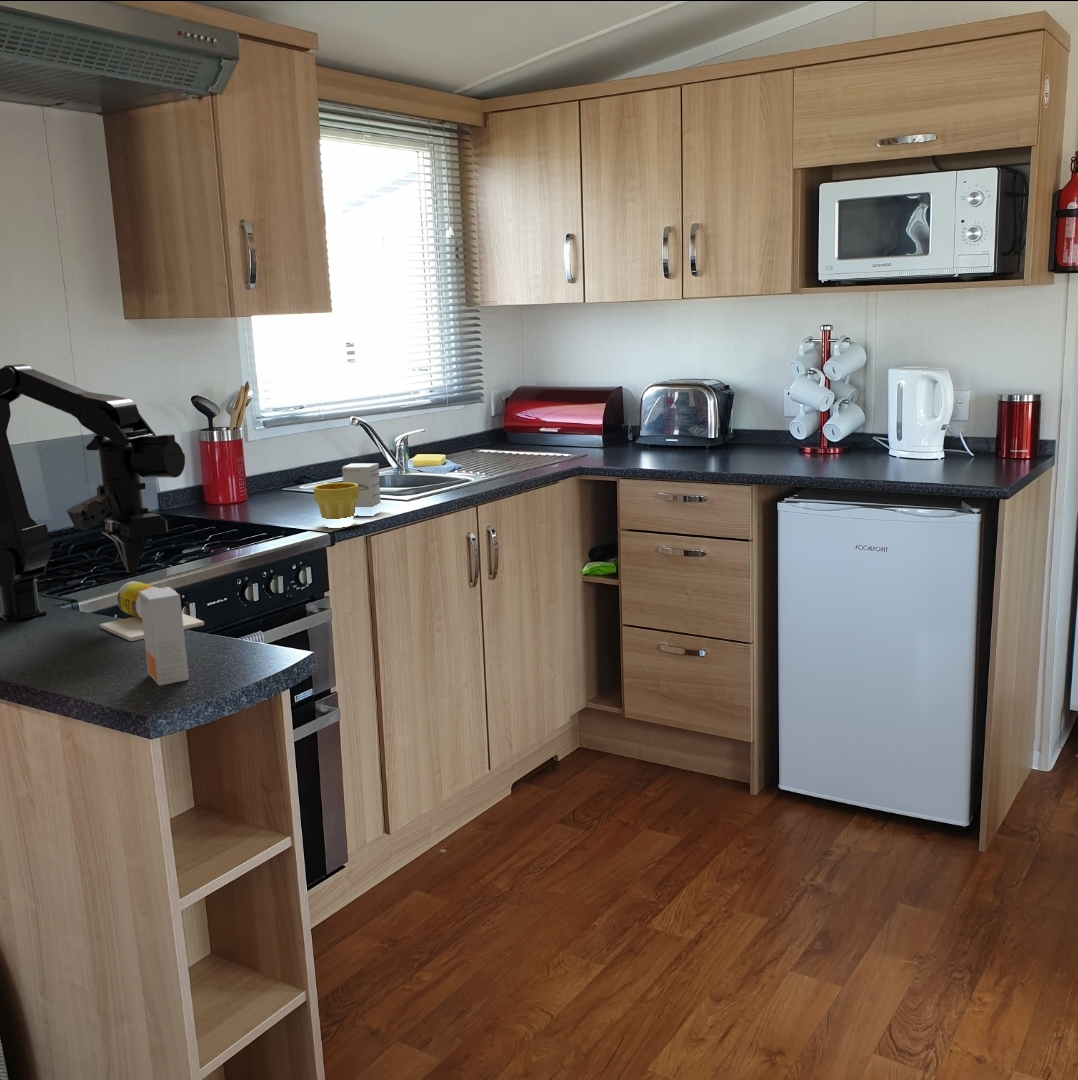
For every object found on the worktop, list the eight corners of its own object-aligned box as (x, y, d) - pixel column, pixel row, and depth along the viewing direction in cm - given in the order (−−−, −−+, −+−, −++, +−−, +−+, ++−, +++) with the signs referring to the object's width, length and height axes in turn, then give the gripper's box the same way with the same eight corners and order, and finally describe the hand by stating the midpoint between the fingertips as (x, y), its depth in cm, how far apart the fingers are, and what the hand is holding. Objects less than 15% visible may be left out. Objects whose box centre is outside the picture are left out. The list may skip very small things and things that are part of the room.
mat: (100, 627, 177) (100, 624, 177) (171, 612, 185) (171, 609, 185) (131, 641, 169) (130, 637, 169) (204, 625, 177) (203, 621, 177)
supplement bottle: (108, 594, 180) (136, 603, 173) (136, 574, 183) (164, 582, 176) (126, 620, 183) (154, 631, 175) (154, 600, 186) (182, 609, 178)
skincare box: (147, 675, 152) (138, 590, 149) (178, 669, 154) (170, 585, 151) (157, 686, 146) (148, 599, 144) (190, 680, 149) (181, 594, 146)
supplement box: (344, 517, 273) (340, 466, 271) (354, 512, 280) (351, 462, 278) (372, 517, 272) (369, 466, 269) (382, 512, 279) (379, 462, 277)
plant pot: (347, 531, 255) (344, 489, 253) (308, 529, 258) (305, 488, 256) (368, 522, 264) (365, 482, 262) (330, 521, 268) (327, 481, 266)
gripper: (48, 479, 178) (60, 573, 181) (93, 488, 165) (104, 590, 168) (116, 471, 186) (126, 561, 189) (164, 479, 172) (174, 577, 175)
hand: (131, 572), depth 180 cm, fingers closed
